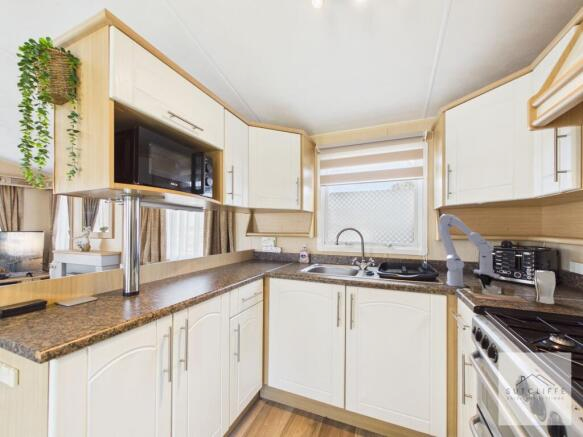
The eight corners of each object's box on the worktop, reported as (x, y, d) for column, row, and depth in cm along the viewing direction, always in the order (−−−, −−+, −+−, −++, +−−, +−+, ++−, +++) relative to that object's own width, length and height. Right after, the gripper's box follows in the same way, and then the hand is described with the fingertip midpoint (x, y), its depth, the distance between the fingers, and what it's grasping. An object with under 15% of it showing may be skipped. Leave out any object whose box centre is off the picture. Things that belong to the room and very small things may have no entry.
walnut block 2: (501, 293, 128) (501, 286, 128) (510, 294, 127) (510, 286, 127) (505, 295, 125) (505, 287, 125) (514, 296, 123) (514, 288, 123)
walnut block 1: (470, 290, 133) (470, 283, 133) (478, 291, 131) (478, 284, 132) (473, 292, 129) (473, 285, 129) (482, 293, 128) (482, 286, 128)
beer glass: (537, 303, 114) (537, 271, 114) (532, 299, 120) (532, 269, 120) (558, 306, 110) (558, 273, 110) (552, 302, 116) (551, 271, 116)
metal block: (485, 292, 131) (485, 284, 131) (494, 293, 129) (494, 285, 129) (488, 294, 127) (488, 286, 127) (498, 295, 126) (498, 287, 126)
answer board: (461, 288, 140) (461, 287, 140) (508, 292, 133) (508, 291, 133) (476, 298, 121) (476, 297, 121) (531, 303, 114) (531, 302, 114)
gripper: (468, 262, 142) (469, 285, 141) (490, 266, 127) (490, 291, 127) (480, 262, 142) (480, 285, 142) (503, 266, 127) (503, 291, 127)
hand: (486, 288), depth 134 cm, fingers closed
